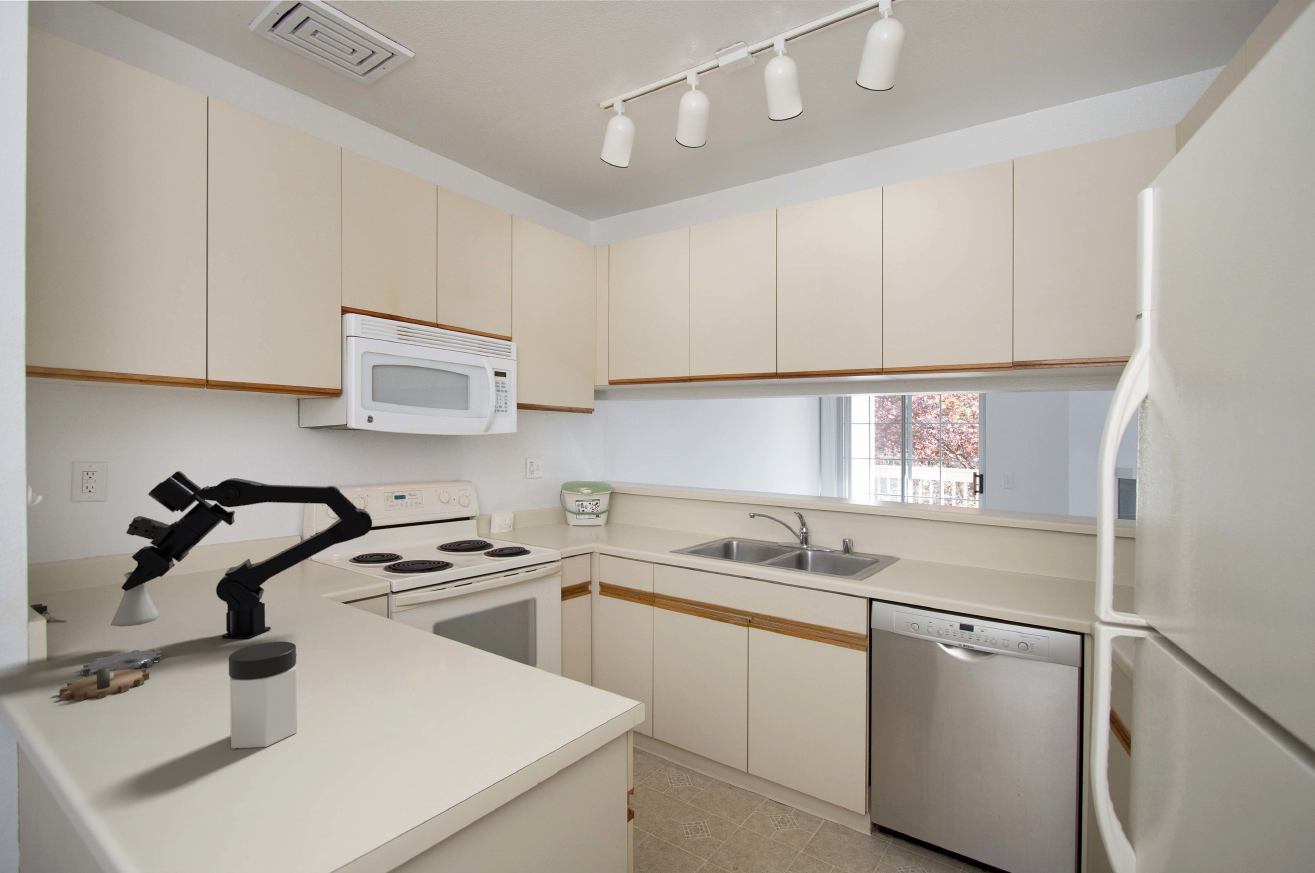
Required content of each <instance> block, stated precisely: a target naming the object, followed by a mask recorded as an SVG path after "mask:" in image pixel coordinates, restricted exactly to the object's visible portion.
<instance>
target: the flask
mask: <svg viewBox="0 0 1315 873" xmlns="http://www.w3.org/2000/svg"><path fill="white" fill-rule="evenodd" d="M133 571H134V570H133ZM133 571H128V572H126V573H124V577H125V578H126V579H125V582H126V581H127V579H128V578H129V577H130V575H131V574H132V572H133ZM159 618H160V614H159V612H158V610H157V608H156V607H155V604H154V603H153V600H152V599H151V596H150V594H149V591H148V590H147V586H146V583H143V584H141V585H139V586H137V587H134V588H132V589H130V590H128V591H125V590H124V593H123V595H122V598H121V600H120V603H119V606H118V607H117V609H116V612H115V614H114V616H113V617H112V620H111V622H110V626H111V627H118V628H119V627H121V628H122V627H124V628H125V627H133V626H134V627H135V626H141V625H145V624H148V623H151V622H155V621H156V620H157V619H159Z"/></svg>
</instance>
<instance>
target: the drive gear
mask: <svg viewBox="0 0 1315 873" xmlns="http://www.w3.org/2000/svg"><path fill="white" fill-rule="evenodd" d="M144 679H147V680H150V671H147V668H141V669H137V670H134V669H133V668H126V669H124V670H117V671H114V670H111V671H110V668H109V667H106V668H101V669H98V670H97V675H93V676H89V675H88V676H87V677H84V678H81V679H79V680H71V681H68V682H67V684H66V686H63V687H60V688H59V696H60V697H61V699H62V700H64V701H67V700H69V699H75V702H79V701H80V702H81V701H83V702H84V701H85V700H86V699H91V698H92V699H93V698H97V699H102V698H106V697H107V696H110V695H114V694H116V693H121V694H122V693H126V692H129V691H130V689H131V688H134V687H136V686H135V685H141V684H142V683H144V684H145V680H144ZM142 685H143V684H142ZM142 685H141V686H142ZM133 686H134V687H133Z"/></svg>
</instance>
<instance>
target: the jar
mask: <svg viewBox="0 0 1315 873" xmlns="http://www.w3.org/2000/svg"><path fill="white" fill-rule="evenodd" d="M296 664H297V646H296V644H295V643H293V642H291V641H277V640H276V641H268V642H260V643H256V644H252V645H248V646H245V647H242V648H239V649H236V650H235V651H233V652H232V653H231V654H230V655H229V656H228V676H229V715H230V716H229V719H230V720H229V722H230V724H229V726H230V727H229V728H230V748H231V749H233V750H234V749H235V750H236V748H238V749H250V748H251V749H255V748H256V749H257V748H266V747H267V748H268V747H269V746H272V745H273V744H276V743H279V742H280V741H282V740H284V739H286V738H288V737H290V736H292V735H294V734H296V733H297V732H298V729H299V728H298V723H299V722H298V721H299V720H298V670H297V669H298V668H297V665H296Z"/></svg>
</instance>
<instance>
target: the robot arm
mask: <svg viewBox="0 0 1315 873" xmlns="http://www.w3.org/2000/svg"><path fill="white" fill-rule="evenodd" d="M147 495H148V496H150V497H151V498H152V499H153V500H155V501H156V502H158V503H159V505H162V507H165V508H166V509H167V510H169V511H170V512H171V513H175V512H180V513H184V512H185V511H186V510H187V509H189V508H190V507H191V506H192V505H193V504H194V503H195V502H197V503H196V504H195V505H194V506H193V507H191V509H190V510H189V511H188V512H186V513H185V514H184V515H183V516H182V517H181V518H179V520H177V521H174V522H172V523H171V524H168V523H164V522H163V521H159V520H156V519H153V518H149V517H146V516H141V515H138V516H134V517H133V519H132V521H131V523H129V524H128V528H127V530H126V532H125V533H126V534H127V535H130V536H137V537H141V538H144V539H148V540H151V541H150V542H149V543H150V544H151V545H146V546H144V547H141V548H139V550H138V551H137V552H135V553H134V554H133V555H132V556H131V558H132V559H133V560H134V561H135V562H136V563H137V565H136V567H135V568H134V570H133V572H132V571H131V572H132V574H131V575H130V577H129V578H128V579H127V581H126V580H125V582H124V583H123V585H122V586H121V590H123V591H124V592H125V591H128V590H130V589H132V588H134V587H137V586H139V585H141V584H143V583H145V584H146V583H147V582H150V581H152V580H155V579H156V578H159V577H160V578H163V576H165V575H166V574H167V573H168V572H170V570H171V569H173V567H175V566H176V564H175V563H174V560H175V561H176V562H178V563H180V562H181V561H183V560H184V559H185V558H186V557H187V556H188V555H189V554H190V551H191V550H192V549H193V548H194V547H195V546H197V545H198V544H199V543H200V542H201V541H202V540H203V539H204V538H206V536H208V535H209V533H210V532H212V531H213V530H214V529H215V528H216V527H217V526H219V525H220V524H221V523H222V522H225V523H226V525H228V526H232V525H233V524H234V523H235V513H236V511H235V510H231V511H230V510H229V511H228V510H226V509H225V508H237V507H242V506H243V507H244V506H251V505H252V506H253V505H257V504H263V503H264V504H265V503H277V504H278V503H282V504H283V503H284V504H285V503H286V504H319V505H320V504H321V505H323V504H324V505H326V506H327V507H328V508H330V510H332V512H333V513H334V514H335V515H336V516H337V517H338V519H337V520H336V521H334V522H333V523H332V524H331V525H329V526H328V527H326V528H325V529H323V530H322V531H320V532H318V533H315V534H313V535H311V536H310V537H308V538H305V539H303V540H302V541H300V542H298V543H295V544H294V545H291V546H290V547H287V549H284V550H282V551H280V552H278V553H275V554H274V555H273V556H270V557H268V558H266V559H264V560H262V561H258V562H255V563H252V561H251V559H250V558H247V559H246V560H245V561H243V562H241V563H240V564H238V565H236V566H232V567H229V568H228V569H227V570H226V572H225V573H224V576H223V577H222V578H221V579H220V580H219V582H218V583H217V585H216V588H215V593H216V596H217V598H219V599H220V600H221V601H222V602H224V603H226V605H227V610H226V611H227V612H226V614H225V618H226V628H225V629H226V632H225V633H223V634H221V638H223V639H225V638H227V639H229V638H231V639H251V638H252V637H255V636H258V635H260V634H263V633H265V632H267V631H270V630H272V626H266V603H265V602H263V601H260V600H261V599H262V598H263V594H264V592H265V588H263V587H261V586H262V585H264V583H265V582H267V581H268V580H269V579H271V578H272V577H273V578H274V576H277V575H278V574H280V573H282V572H284V571H286V570H288V569H289V568H292V567H294V566H295V565H298V564H299V563H302V562H303V561H306V560H307V559H309V558H310V557H313V556H315V555H317V554H319V553H320V552H323V551H325V550H327V549H328V548H330V547H332V546H334V545H337V544H341V543H344V542H349V541H351V540H355V539H359V538H361V537H364V536H365V535H367V534H369V532H370V531H371V529H372V527H373V519H372V518H371V517H372V516H371V514H370V513H369V511H367V510H366V509H363V508H359V507H357V506H356V505H355V504H354V503H353V502H351V501H350V499H348V498H347V496H345V495H344V494H343V493H342V492H341V490H340V488H338V487H337V486H335V485H327V486H320V485H318V486H317V485H315V486H313V485H292V484H291V485H288V484H283V485H281V484H268V483H264V482H263V483H262V482H258V481H255V480H250V479H249V480H248V479H244V478H239V477H238V478H237V477H234V478H232V477H231V478H227V479H225V480H223V481H221V482H219V483H218V484H217V485H214V486H209V485H206V486H204V487H200V486H199V485H197V484H196V483H195V482H194V481H192V480H191V479H190V478H189V477H187V475H186V474H184V472H183V471H180V470H177V471H175V472H174V473H173V474H172V475H171V476H169V477H167V478H166V479H165V480H164V481H162V482H159V483H158V484H157V485H156V486H155V487H154V488H152V489H151V490H150V491H149V493H147ZM208 501H209V502H208ZM210 502H215V503H214V504H212V503H210Z"/></svg>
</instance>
